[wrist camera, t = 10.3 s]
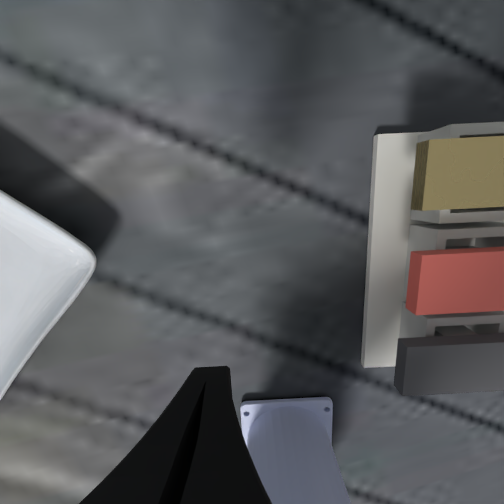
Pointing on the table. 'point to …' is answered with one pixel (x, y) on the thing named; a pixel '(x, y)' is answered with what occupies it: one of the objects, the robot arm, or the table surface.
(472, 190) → the brass plug
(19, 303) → the salad plate
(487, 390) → the grey rectangular block
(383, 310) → the panel
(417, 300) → the red plug
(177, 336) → the table surface
